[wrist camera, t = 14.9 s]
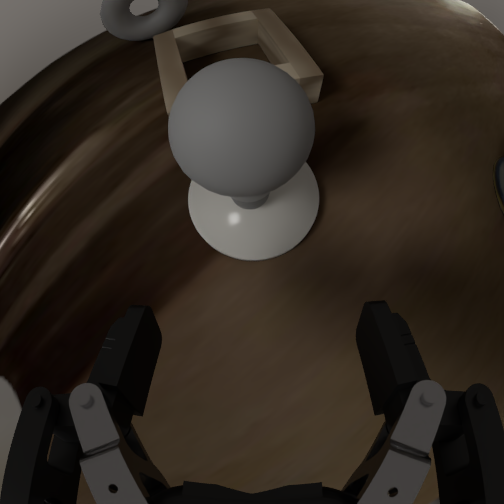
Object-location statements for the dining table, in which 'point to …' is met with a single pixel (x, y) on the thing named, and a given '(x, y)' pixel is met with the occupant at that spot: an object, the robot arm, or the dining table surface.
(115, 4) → the donut
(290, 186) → the white round part
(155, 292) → the dining table surface
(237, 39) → the pocket
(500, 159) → the apothecary jar
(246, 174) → the lightbulb
